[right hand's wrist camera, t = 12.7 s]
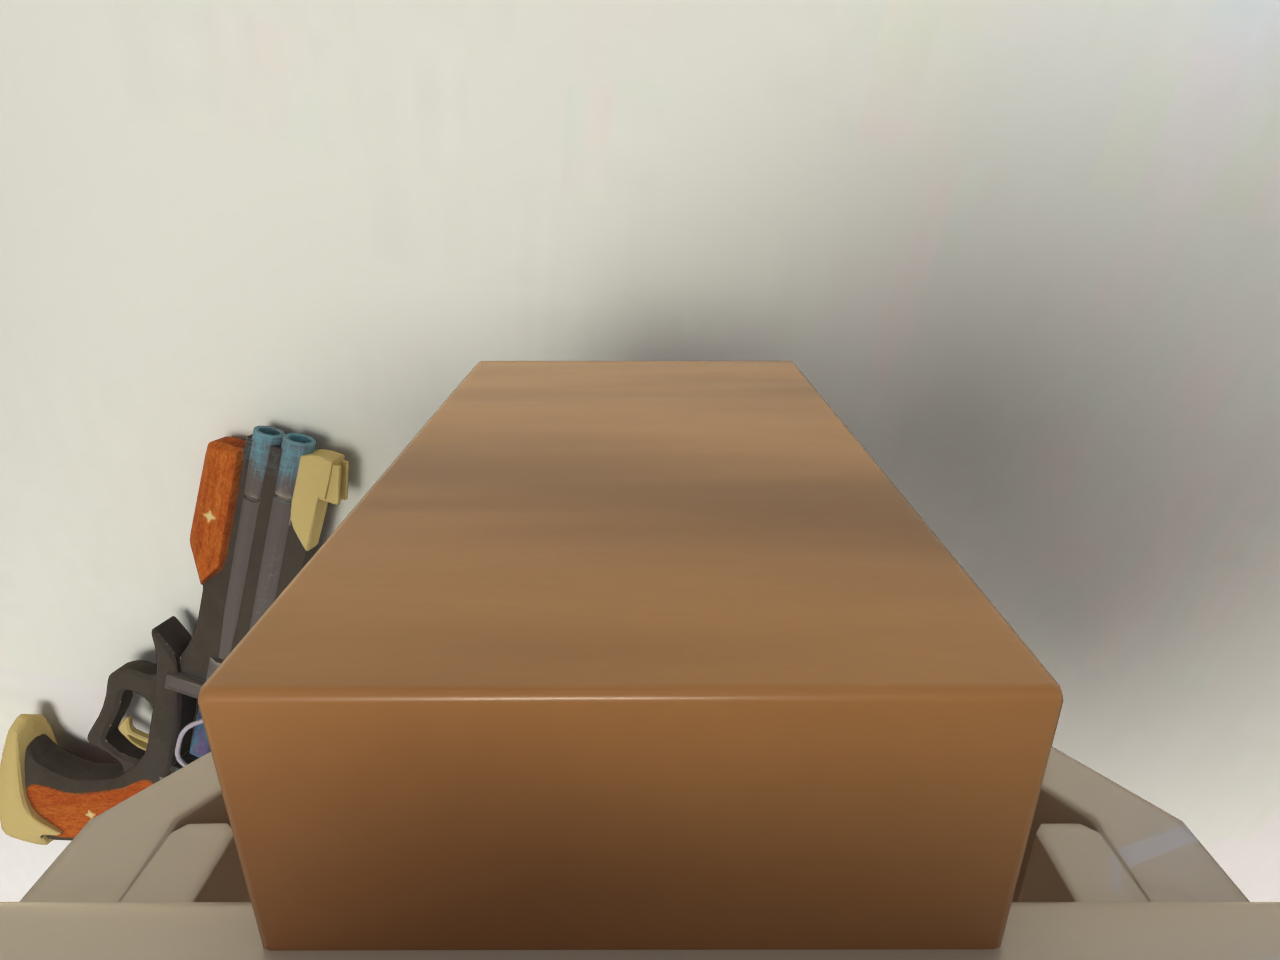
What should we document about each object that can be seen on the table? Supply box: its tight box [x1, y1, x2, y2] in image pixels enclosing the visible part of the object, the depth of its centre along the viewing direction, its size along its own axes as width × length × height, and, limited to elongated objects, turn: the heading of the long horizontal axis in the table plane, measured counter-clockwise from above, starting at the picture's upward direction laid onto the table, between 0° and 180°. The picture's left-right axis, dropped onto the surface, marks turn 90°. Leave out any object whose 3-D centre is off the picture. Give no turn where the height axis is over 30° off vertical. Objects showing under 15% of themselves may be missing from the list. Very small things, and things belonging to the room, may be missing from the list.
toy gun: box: [0, 426, 349, 845], centre depth 26 cm, size 3×19×10 cm
